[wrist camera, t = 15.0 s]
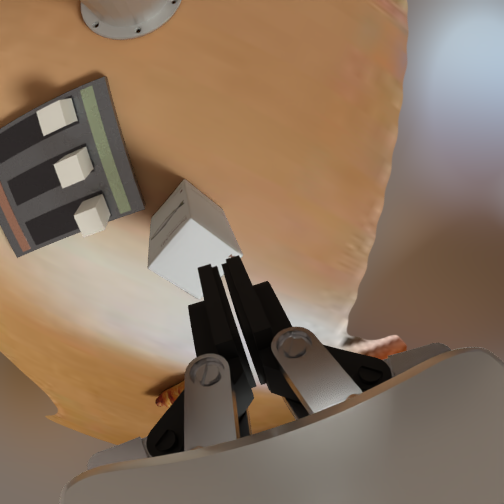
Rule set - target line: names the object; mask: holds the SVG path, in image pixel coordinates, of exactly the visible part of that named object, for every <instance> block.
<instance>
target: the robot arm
mask: <svg viewBox="0 0 504 504" xmlns="http://www.w3.org/2000/svg"><path fill="white" fill-rule="evenodd" d="M80 1H81V14H82V17H83V20H84V21H85V23H86V25H87V26H88V27H89V28H90V29H91V30H92V31H93V32H95V33H96V34H98V35H100V36H102V37H105V38H109V39H113V40H127V39H134V38H138V37H141V36H144V35H146V34H149V33H151V32H153V31H155V30H156V29H158V28H160V27H161V26H162V25H163V24H165V23H166V22H167V21H168V20H169V19H170V18H171V17H172V16H173V15H174V13H175V12H176V10H177V9H178V7H179V5H180V3H181V0H80ZM173 1H175V2H176V3H175V4H172V2H173ZM97 24H99V26H98V27H97V28H96V27H95V26H96V25H97ZM137 30H141V31H140V33H137ZM221 265H222V268H223V272H224V275H225V279H226V282H227V285H228V289H229V292H230V295H231V299H232V302H233V305H234V309H235V312H236V315H237V318H238V321H239V324H240V327H241V330H242V333H243V336H244V338H245V341H246V344H247V347H248V350H249V353H250V356H251V358H252V361H253V364H254V367H255V370H256V372H257V375H258V378H259V381H260V383H261V385H262V384H265V383H267V386H268V389H269V390H270V391H271V393H274V394H277V395H280V396H282V398H283V400H284V402H285V403H286V405H287V407H288V408H289V410H290V411H291V413H292V414H293V416H294V417H295V419H296V420H295V421H293V422H290V423H287V424H284V425H281V426H278V427H275V428H272V429H269V430H266V431H263V432H260V433H256V434H253V435H252V431H251V423H250V416H249V410H248V406H249V405H250V403H251V402H252V400H253V399H254V397H253V396H254V395H253V392H252V389H251V388H253V387H256V383H255V380H254V378H253V375H252V372H251V369H250V366H249V363H248V360H247V357H246V354H245V351H244V348H243V345H242V342H241V339H240V336H239V333H238V330H237V327H236V324H235V320H234V317H233V314H232V311H231V308H230V305H229V302H228V299H227V296H226V293H225V289H224V286H223V283H222V280H221V277H220V274H219V270H218V267H217V266H214V267H212V266H211V264H208V265H205V266H201V267H198V273H199V278H200V283H201V288H202V292H203V297H204V301H201V302H198V303H195V304H191V305H188V309H189V316H190V322H191V328H192V334H193V340H194V345H195V351H196V356H197V358H195V359H193V360H192V361H191V362H190V363H189V365H188V366H187V368H186V371H185V387H184V390H183V391H182V392H181V394H180V395H179V396H178V397H177V399H176V400H175V401H174V402H173V404H172V405H171V406H170V408H169V409H168V410H167V411H166V413H165V414H164V415H163V416H162V418H161V419H160V420H159V421H158V423H157V424H156V425H155V426H154V427H153V429H152V430H151V431H150V433H149V435H148V436H147V437H145V438H140V437H138V438H135V439H133V440H130V441H128V442H125V443H123V444H120V445H117V446H114V447H112V448H109V449H106V450H103V451H101V452H98V453H96V454H94V455H93V456H92V457H91V458H90V460H89V462H88V471H86V472H83V473H81V474H80V475H78V476H76V477H74V478H73V479H72V480H70V481H69V482H68V483H67V484H66V485H65V486H64V488H63V490H62V492H61V496H60V501H59V504H504V362H503V361H502V360H501V359H500V358H499V357H497V356H496V355H495V354H494V353H492V352H490V351H489V350H487V349H484V348H479V347H467V348H460V349H455V350H450V348H449V347H448V346H446V345H444V344H441V343H432V344H429V345H426V346H422V347H419V348H416V349H412V350H409V351H405V352H401V353H397V354H394V355H390V356H388V359H384V360H381V359H378V358H375V357H370V356H366V355H362V354H358V353H353V352H349V351H345V350H341V349H337V348H333V347H329V346H325V345H323V344H322V343H321V342H320V341H319V340H318V338H317V337H316V336H315V335H314V334H313V333H312V332H311V331H310V330H308V329H305V328H303V327H292V325H291V323H290V321H289V319H288V318H287V316H286V314H285V312H284V310H283V308H282V306H281V304H280V302H279V300H278V298H277V297H276V295H275V293H274V291H273V289H272V287H271V285H270V283H269V282H268V281H266V282H263V283H260V284H257V285H253V286H252V283H251V281H250V279H249V277H248V274H247V272H246V270H245V268H244V265H243V263H242V261H241V259H240V256H239V255H238V256H234V257H231V258H228V259H226V263H224V264H221Z"/></svg>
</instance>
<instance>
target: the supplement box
mask: <svg viewBox="0 0 504 504" xmlns="http://www.w3.org/2000/svg"><path fill="white" fill-rule="evenodd" d="M238 255H239V256H240V258H241V257H242V256H243V253H242V251H241V249H240V247H239V245H238V242H237V240H236V238H235V236H234V234H233V231H232V229H231V227H230V225H229V222H228V220H227V218H226V216H225V213H224V211H223V209H222V208H220V207H219V206H218V205H217V204H215V203H214V202H213V201H212V200H210V199H209V198H208V197H207V196H205V195H204V194H203V193H202V192H200V191H199V190H198V189H197V188H195V187H194V186H193V185H192V184H191V183H189V182H188V181H187V180H185V179H184V180H183V181H182V182H181V183H180V185H179V186H178V187H177V188H176V190H175V191H174V192H173V193H172V195H171V196H170V197H169V198H168V199H167V200H166V202H165V203H164V204H163V205H162V206H161V207H160V209H159V210H158V211H157V212H156V213H155V214H154V215H153V216H152V218H151V226H150V238H149V253H148V269H149V270H151V271H153V272H154V273H156V274H157V275H159V276H161V277H162V278H164V279H166V280H167V281H169V282H171V283H172V284H174V285H176V286H177V287H179V288H180V289H182V290H184V291H185V292H187V293H188V294H190V295H192V296H193V297H195V298H196V299H200V298H202V296H203V292H202V288H201V283H200V278H199V273H198V267H201V266H205V265H208V264H211V266H212V267H214V266H217V267H218V270H219V274H220V277H222V276H223V275H224V272H223V268H222V265H221V264H224V263H226V259H228V258H231V257H234V256H238Z"/></svg>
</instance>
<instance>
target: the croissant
mask: <svg viewBox="0 0 504 504" xmlns="http://www.w3.org/2000/svg"><path fill="white" fill-rule="evenodd" d="M184 387H185V380H184V381H182V382H181V383H179V384H177V385H175V386H174V387H171V388H170V389H167V390H166V391H164V392H163V393H162V394H161V395H160V396H159V397H158V398H157V399H156V405H157V406H160V407H161V406H167V407H169V408H170V406H171V405H172V404H173V402H174V401H175V400H176V399H177V397H178V396H179V395H180V394H181V392H182V391H183V390H184Z"/></svg>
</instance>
